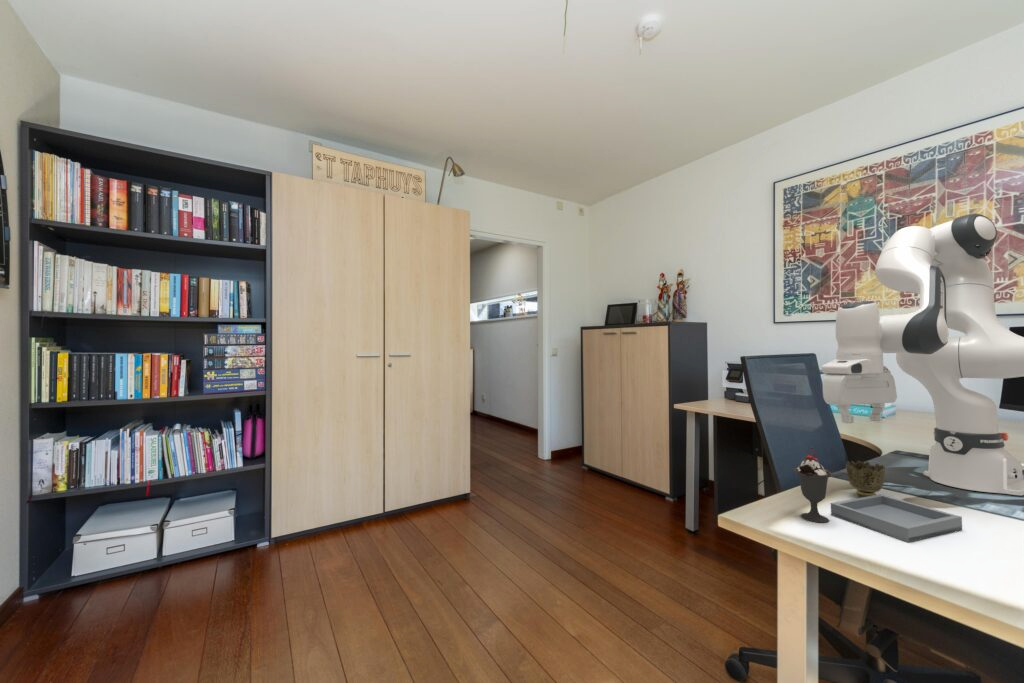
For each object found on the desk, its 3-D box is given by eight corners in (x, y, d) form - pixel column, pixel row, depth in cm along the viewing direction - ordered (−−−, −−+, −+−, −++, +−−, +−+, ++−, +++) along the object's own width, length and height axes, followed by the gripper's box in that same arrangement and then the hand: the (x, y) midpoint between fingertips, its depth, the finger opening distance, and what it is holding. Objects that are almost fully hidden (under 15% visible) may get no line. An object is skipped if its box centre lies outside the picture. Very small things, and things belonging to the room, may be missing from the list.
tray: (881, 505, 95) (880, 494, 95) (962, 530, 81) (961, 516, 81) (831, 514, 90) (830, 503, 90) (908, 542, 77) (907, 528, 77)
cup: (839, 494, 102) (838, 462, 103) (857, 490, 105) (855, 458, 105) (876, 504, 95) (874, 470, 96) (893, 499, 98) (891, 465, 99)
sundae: (820, 512, 92) (817, 445, 92) (841, 524, 85) (838, 452, 85) (789, 511, 92) (786, 445, 93) (807, 524, 86) (804, 452, 86)
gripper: (875, 365, 107) (877, 418, 107) (816, 366, 102) (818, 422, 101) (903, 365, 101) (906, 422, 101) (842, 366, 96) (845, 426, 95)
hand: (861, 422), depth 101 cm, fingers open, 8 cm apart
